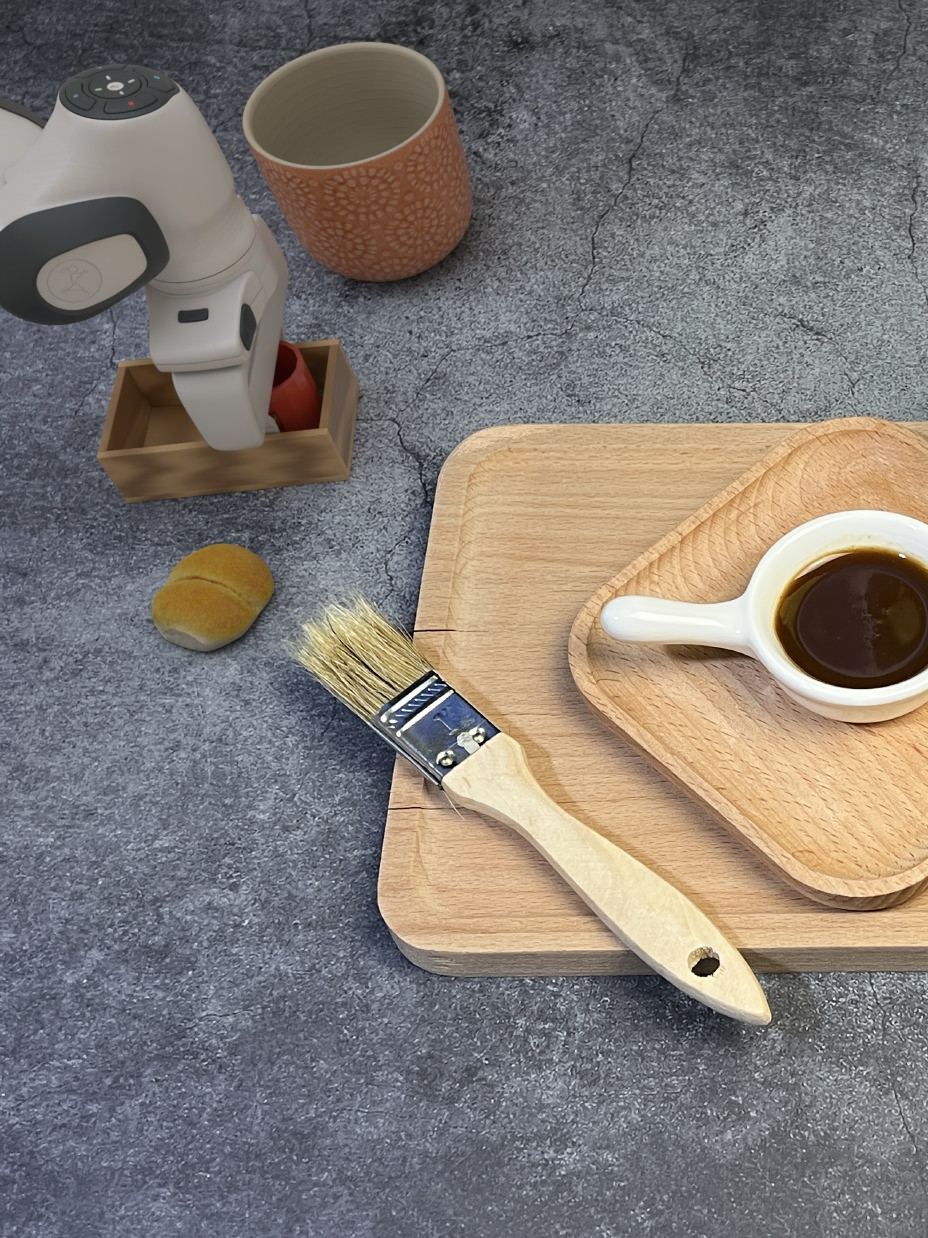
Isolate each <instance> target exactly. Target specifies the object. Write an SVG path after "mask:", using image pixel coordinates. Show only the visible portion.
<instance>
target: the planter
mask: <svg viewBox="0 0 928 1238" xmlns="http://www.w3.org/2000/svg"><path fill="white" fill-rule="evenodd" d="M241 123H242V131H243V134H244V138H245V139H246V141H247V144H248V146H249V149H250V151H251V153H252V155H253V157H254V159H255V161H256V163H257V165H258V167H259V169H260V171H261V174H262V175H263V177H264V179H265V181H266V183H267V185H268V187H269V189H270V191H271V194H272V196H273V198H274V200H275V202H276V204H277V205H278V208H279V210H280V211H281V214H282V215H283V217H284V219H285V221H286V222H287V224H288V226H289V228H290V231H292V233H293V234H294V236H295V238H296V239H297V240H298V242H299V243H300V245H301V246H302V248H303V249H304V250H305V251H306V252H307V254H309V255H310V257H311V258H313V260H314V261H316V262H317V263H319V264H320V265H321V266H323V267H324V268H326V269H327V270H329V271H331V272H333V273H335V274H338V275H340V276H343V277H345V278H349V279H353V280H356V281H363V282H373V283H374V282H375V283H377V282H379V283H381V282H393V281H399V280H404V279H409V278H410V277H411V278H412V277H414V276H416V275H419V274H421V273H424V272H425V271H428V270H429V269H431V268H433V267H435V266H436V265H438V264H439V263H440V262H441V261H443V260H444V259H445V258H446V257H447V256H449V254H451V252H452V251H453V250H454V249H455V248H456V247H457V246H458V244H459V243H460V241H461V240H462V239H463V237H464V235H465V233H466V231H467V229H468V226H469V224H470V220H471V218H472V217H471V216H472V211H473V190H472V189H473V188H472V181H471V175H470V171H469V166H468V161H467V157H466V152H465V149H464V145H463V141H462V137H461V134H460V131H459V127H458V124H457V121H456V117H455V112H454V109H453V105H452V103H451V98H450V94H449V91H448V88H447V85H446V82H445V79H444V76H443V74H442V72H441V70H440V69H439V68H438V66H437V65H435V63H434V62H433V61H432V60H430V59H429V58H428V57H427V56H425V55H424V54H422V53H420V52H418V51H416V50H414V49H412V48H409V47H406V46H402V45H400V44H399V45H398V44H395V43H390V42H389V43H388V42H379V41H359V42H349V43H341V44H336V45H331V46H327V47H324V48H320V49H316V50H313V51H311V52H309V53H305V54H303V55H300V56H298V57H296V58H295V59H292V60H290V61H289V62H286V63H285V64H283V65H282V66H281V67H279V68H277V69H276V70H274V71H273V72H272V73H270V74H269V75H268V76H267V77H266V78H265V79H263V81H262V82H261V83H259V84H258V85H257V86H256V87H255V89H254V90H253V92H252V94H251V95H250V96H249V98H248V99H247V102H246V104H245V106H244V110H243V113H242V121H241Z"/></svg>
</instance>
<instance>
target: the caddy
mask: <svg viewBox="0 0 928 1238" xmlns="http://www.w3.org/2000/svg"><path fill="white" fill-rule="evenodd" d="M290 343H291V342H290ZM291 344H292V345H294V346H295V347H297V348H298V349H299V351H300V353H301V355H302V357H303V359H304V361H305V364H306V366H307V368H308V370H309V372H310V374H311V376H312V378H313V380H314V382H315V384H316V386H317V388H318V390H319V392H320V394H321V396H322V398H323V402H322V410H321V418H320V425H319V429H311V430H302V431H292V432H283V433H273V434H265V438H264V442H263V444H262V445H261V446H260V447H256V448H251V449H244V450H235V451H221V450H217V449H214V448H212V447H211V446H210V445H209V444H208V443H207V442H206V440H205V439H204V437H203V436H202V435H201V433H200V432H199V430H198V429H197V427H196V425H195V424H194V422H193V421H192V419H191V417H190V416H189V414H188V413H187V411H186V409H185V408H184V406H183V404H182V402H181V400H180V399H179V397H178V394H177V392H176V389H175V387H174V383H173V379H172V372H161V371H159V370H158V369H157V367H156V366H155V364H154V362H153V360H152V358H151V357H150V358H140V359H139V358H138V359H131V360H129V359H128V360H121V361H120V360H119V363H118V368H117V370H116V375H115V377H114V378H115V379H114V382H113V387H112V391H111V396H110V398H109V399H110V400H109V404H108V408H107V413H106V416H105V422H104V425H103V429H102V432H101V438H100V441H99V446H98V450H97V455H96V460H97V461H98V463H99V464H100V465H101V468H103V470H104V471H105V473H106V474H107V476H108V477H109V478H110V480H111V481H112V483H113V485H114V486H115V487H116V488H117V490H118V491H119V493H120V494H121V496H122V497H123V498H124V500H125V502H126V503H127V504H134V503H143V502H152V501H163V500H172V499H180V498H189V497H191V498H192V497H198V496H199V497H200V496H209V495H218V494H219V495H220V494H227V493H236V492H246V491H255V490H264V489H275V488H284V487H292V486H293V487H294V486H302V485H303V486H304V485H312V484H321V483H322V484H323V483H330V482H331V483H332V482H340V481H349V480H350V476H351V467H352V459H353V452H354V451H353V450H354V441H355V434H356V432H355V431H356V424H357V415H358V405H359V398H360V389H361V388H360V387H361V384H360V382H359V381H358V378H357V376H356V373H355V372H354V369H353V367H352V365H351V363H350V361H349V358H348V356H347V354H346V352H345V350H344V347H343V344H342V343H341V341H340V338H330V339H320V340H312V341H310V340H309V341H304V342H303V341H301V342H293V343H291Z"/></svg>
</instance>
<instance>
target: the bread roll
mask: <svg viewBox="0 0 928 1238" xmlns="http://www.w3.org/2000/svg"><path fill="white" fill-rule="evenodd" d="M274 593H275V583H274V579H273V575H272V573H271V571H270V568H269V567H268V565H267V564H266V562H265V561H264V560H263V559H262V558H261V557H259V556H258V555H257V554H256V553H255V552H253V551H252V550H250V549H248V548H246V547H244V546H241V545H239V544H233V543H214V544H210V545H207V546H205V547H201V548H199V549H197V550H195V551H194V552H192V553H190V554H188V555H186V556H185V557H183V558H182V559H180V561H179V562H178V563H177V564H176V565H175V566H174V567H173V569H172V571H170V574H169V575H168V577H167V580H166V581H165V582H164V585H163V587H161V588H160V589H159V590H158V591H157V592H156V593H155V594H154V597H153V600H152V604H151V610H150V611H151V613H150V614H151V619H152V622H153V624H154V626H155V628H156V629H157V630H158V632H159V633H160V634H161V636H162V638H163V639H164V640H167V641H169V642H171V643H173V644H176V645H178V646H179V647H182V648H185V649H189V650H193V651H199V652H213V651H216V650H217V649H221V648H222V647H225V646H226V645H229V644H231V643H232V642H234V641H236V640H238V639H240V638H241V637H242V636H244V634H246V633H247V631H248V630H249V629H250V628H251V626H253V624H254V622H255V621H256V619H258V616H259V615H260V613H261V612H262V611H263V610H264V609H265V607H266V606H267V605H268V603H269V602H270V600H271V599H272V596H273V594H274Z"/></svg>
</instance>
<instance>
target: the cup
mask: <svg viewBox="0 0 928 1238" xmlns="http://www.w3.org/2000/svg"><path fill="white" fill-rule="evenodd" d="M322 402H323V398H322V396H321V394H320V392H319V390H318V388H317V386H316V384H315V382H314V380H313V378H312V376H311V374H310V372H309V370H308V368H307V366H306V364H305V361H304V359H303V357H302V355H301V353H300V351H299V349H298V348H297V347H295V346H294V345H292V344H291V342H290V341H287V342H286V341H281V340H280V341H279V347H278V353H277V360H276V366H275V373H274V379H273V385H272V392H271V398H270V405H269V411H268V414H271V413H277V415H278V417H279V420H280V422H281V423H282V433H283V432H292V431H302V430H311V429H319V425H320V418H321V410H322Z"/></svg>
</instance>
